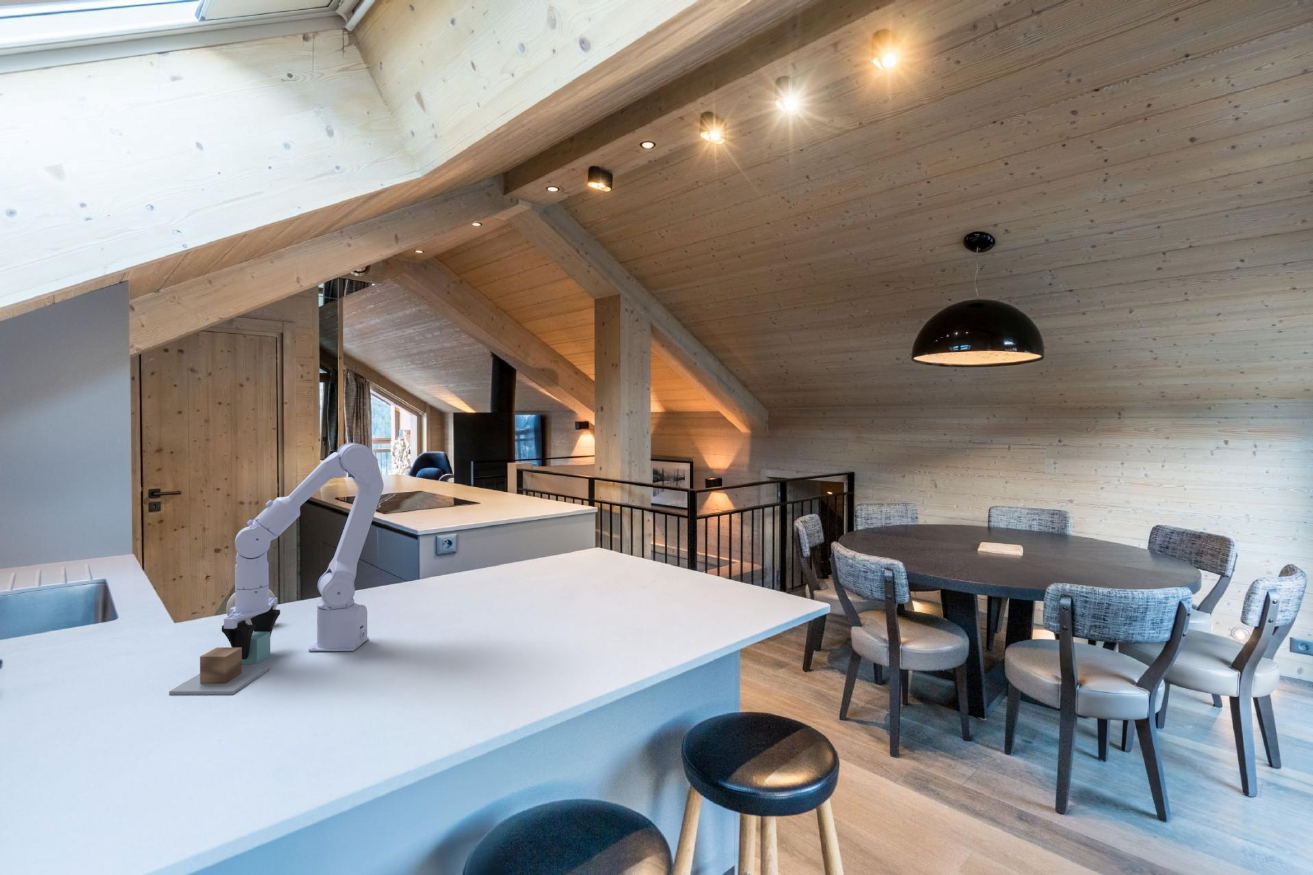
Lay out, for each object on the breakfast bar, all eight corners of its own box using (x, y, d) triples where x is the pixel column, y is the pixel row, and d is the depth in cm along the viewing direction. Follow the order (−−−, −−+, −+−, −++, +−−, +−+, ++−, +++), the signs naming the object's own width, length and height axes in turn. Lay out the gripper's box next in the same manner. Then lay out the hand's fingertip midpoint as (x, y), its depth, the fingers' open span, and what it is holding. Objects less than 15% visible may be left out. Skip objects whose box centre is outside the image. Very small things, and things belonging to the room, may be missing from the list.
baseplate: (269, 669, 121) (269, 666, 121) (232, 694, 110) (232, 691, 110) (211, 669, 121) (211, 666, 121) (169, 694, 110) (169, 691, 110)
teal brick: (270, 655, 129) (270, 631, 129) (256, 664, 125) (256, 639, 124) (247, 655, 129) (247, 631, 129) (233, 664, 124) (233, 639, 124)
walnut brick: (241, 673, 118) (241, 647, 118) (225, 683, 114) (225, 656, 113) (216, 673, 118) (216, 647, 118) (200, 683, 113) (200, 656, 113)
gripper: (253, 577, 133) (253, 639, 134) (207, 595, 119) (207, 666, 119) (287, 577, 134) (287, 639, 134) (245, 596, 119) (245, 666, 120)
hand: (252, 652), depth 127 cm, fingers open, 6 cm apart
